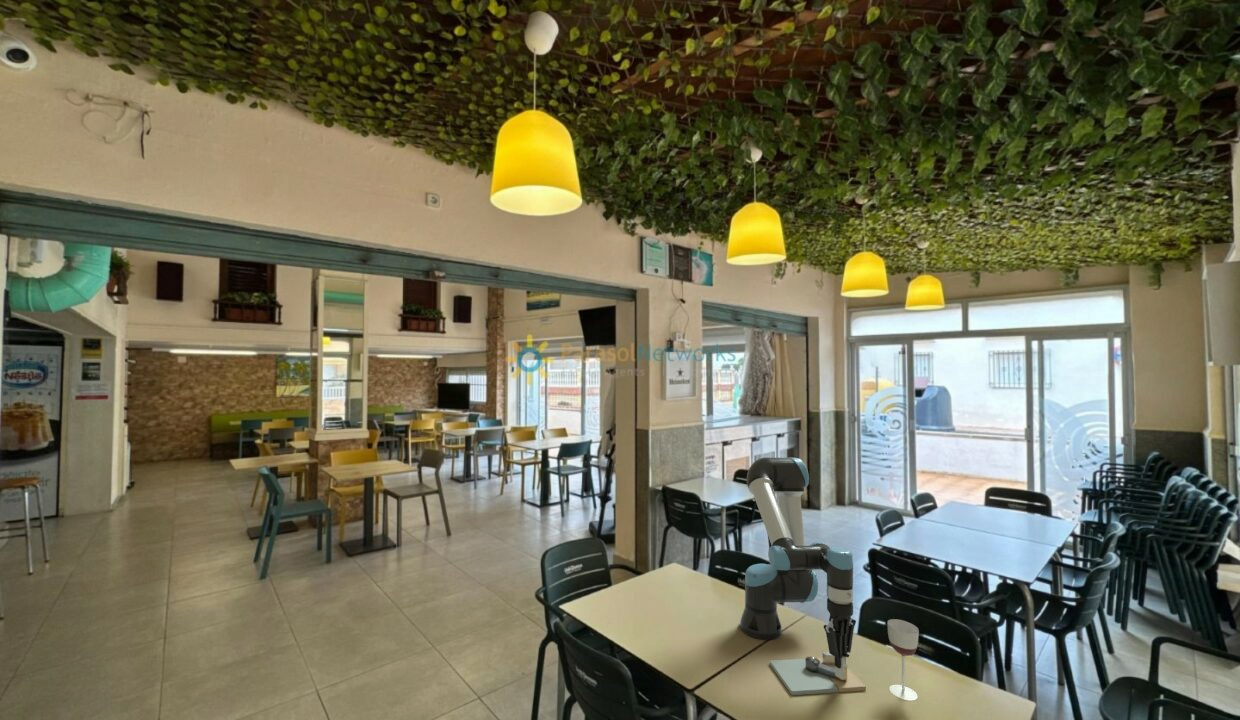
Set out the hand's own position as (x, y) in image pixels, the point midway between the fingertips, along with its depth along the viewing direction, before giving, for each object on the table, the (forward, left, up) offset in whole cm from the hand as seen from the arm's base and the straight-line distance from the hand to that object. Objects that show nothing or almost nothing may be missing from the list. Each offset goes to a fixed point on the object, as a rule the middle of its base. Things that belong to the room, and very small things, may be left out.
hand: (840, 677), depth 153 cm
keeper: (-10, +3, -2) cm, 11 cm away
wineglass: (+4, +18, -3) cm, 19 cm away
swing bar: (-5, -2, -2) cm, 6 cm away
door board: (-6, -5, -3) cm, 8 cm away
